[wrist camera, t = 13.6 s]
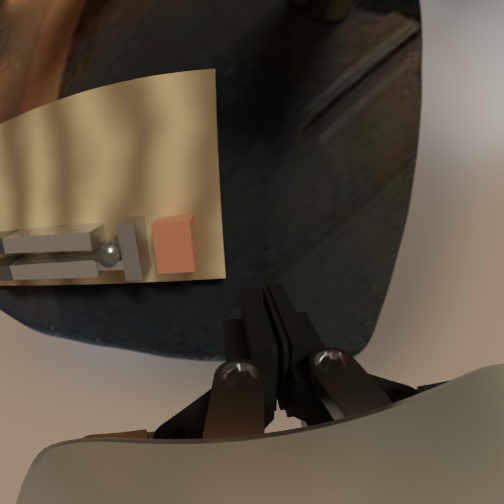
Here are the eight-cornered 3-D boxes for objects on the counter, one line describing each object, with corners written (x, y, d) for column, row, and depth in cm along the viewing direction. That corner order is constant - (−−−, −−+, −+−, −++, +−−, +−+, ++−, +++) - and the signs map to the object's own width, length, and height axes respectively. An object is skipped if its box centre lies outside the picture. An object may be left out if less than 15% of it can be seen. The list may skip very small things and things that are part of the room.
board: (-4, 281, 24) (-9, 285, 23) (-25, 140, 18) (-32, 141, 17) (225, 272, 26) (225, 278, 25) (215, 72, 20) (215, 68, 19)
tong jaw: (103, 222, 22) (89, 231, 19) (105, 240, 23) (91, 251, 20) (-3, 232, 21) (-20, 240, 18) (-1, 245, 22) (-16, 254, 19)
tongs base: (144, 214, 23) (131, 224, 19) (151, 266, 24) (140, 283, 21) (-2, 234, 21) (-22, 244, 18) (7, 273, 23) (-11, 285, 19)
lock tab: (193, 214, 23) (189, 221, 20) (198, 260, 24) (194, 271, 22) (158, 217, 23) (151, 224, 20) (164, 262, 24) (158, 273, 22)
